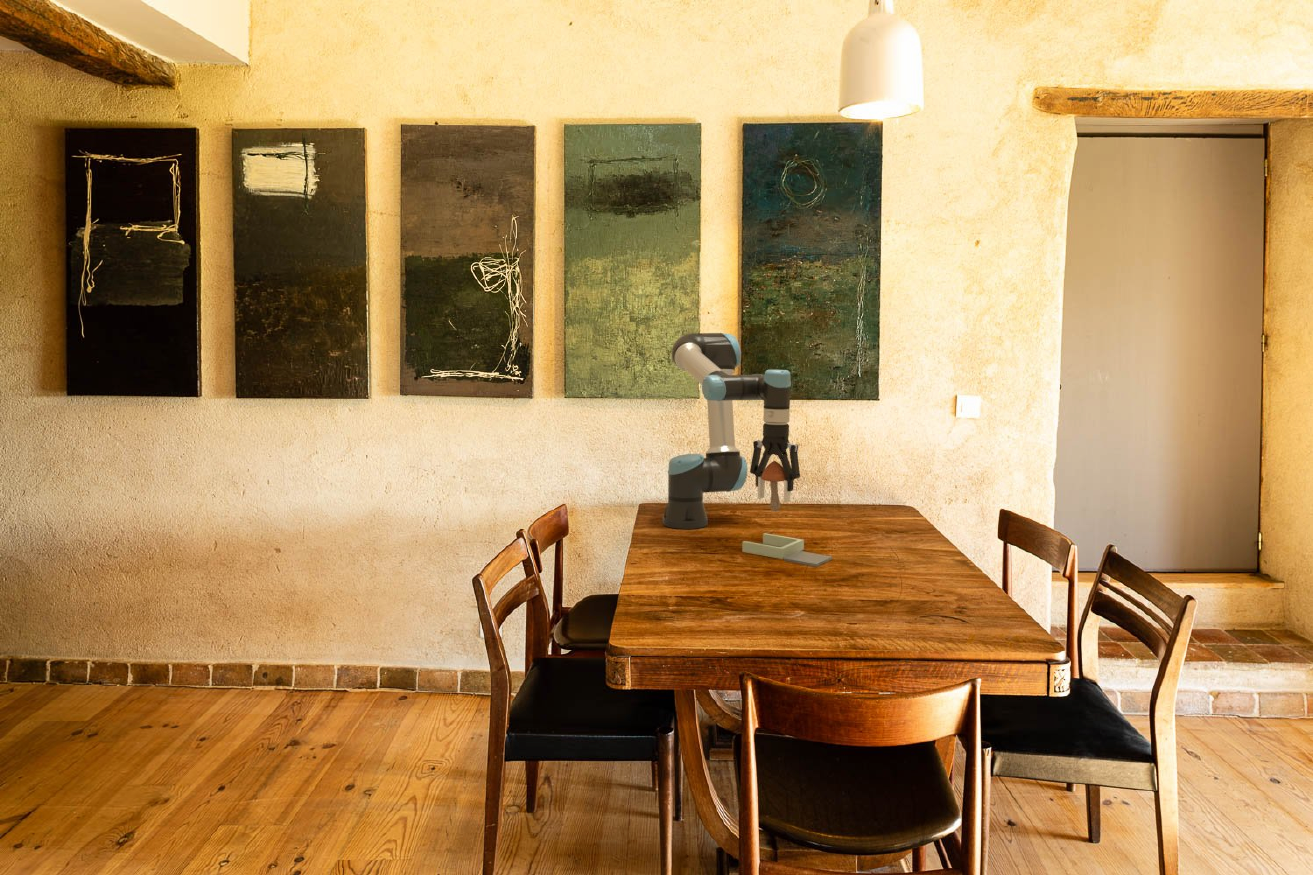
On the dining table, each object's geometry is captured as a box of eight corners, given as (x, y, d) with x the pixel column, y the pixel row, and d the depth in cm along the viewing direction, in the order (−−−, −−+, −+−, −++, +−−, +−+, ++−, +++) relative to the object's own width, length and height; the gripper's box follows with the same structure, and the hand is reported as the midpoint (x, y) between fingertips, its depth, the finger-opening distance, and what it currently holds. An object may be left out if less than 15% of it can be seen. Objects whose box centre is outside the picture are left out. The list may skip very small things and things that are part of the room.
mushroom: (755, 511, 241) (757, 461, 239) (765, 506, 248) (766, 457, 246) (781, 514, 237) (783, 463, 235) (790, 509, 244) (792, 459, 242)
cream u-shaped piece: (742, 551, 242) (742, 541, 242) (764, 542, 253) (765, 533, 253) (782, 559, 235) (782, 548, 234) (803, 549, 245) (804, 539, 245)
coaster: (784, 560, 233) (784, 558, 233) (800, 553, 241) (800, 550, 241) (816, 566, 227) (816, 564, 227) (832, 559, 235) (832, 556, 235)
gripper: (738, 421, 242) (736, 497, 245) (802, 427, 230) (799, 506, 233) (751, 419, 248) (749, 493, 251) (814, 424, 236) (811, 502, 239)
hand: (773, 499), depth 242 cm, fingers closed on mushroom, 8 cm apart
